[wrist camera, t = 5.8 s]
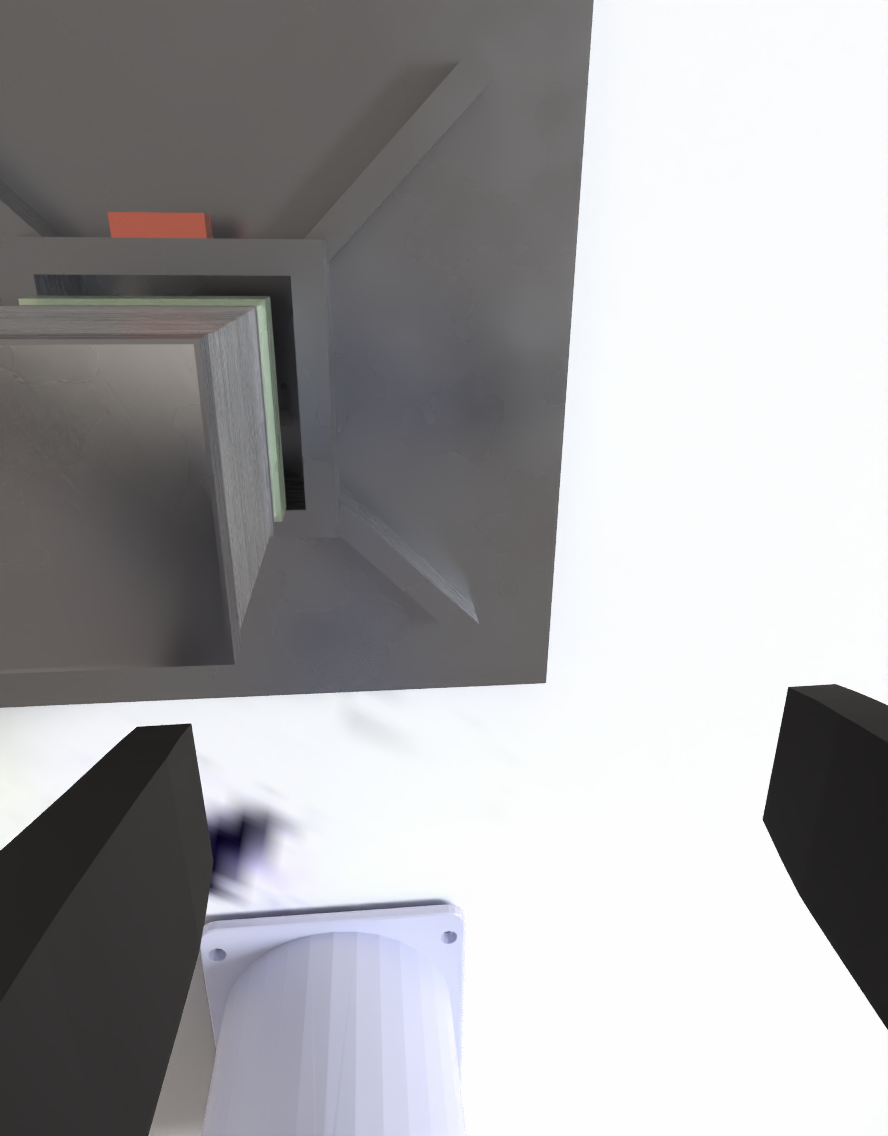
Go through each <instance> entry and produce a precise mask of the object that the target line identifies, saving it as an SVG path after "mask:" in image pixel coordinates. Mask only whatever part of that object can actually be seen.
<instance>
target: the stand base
mask: <svg viewBox="0 0 888 1136" xmlns="http://www.w3.org/2000/svg"><path fill="white" fill-rule="evenodd" d="M592 15H593V0H0V306H1V305H19V300H18V299H19V298H25V297H31V296H38V295H58V296H270V299H271V312H272V325H273V339H274V352H275V365H276V378H277V391H278V405H279V418H280V431H281V444H282V458H283V471H284V484H285V497H286V510H285V514H284V517H283V521H282V522H274V525H275V535H274V537H269V541H268V544H267V547H266V550H265V553H264V556H263V559H262V563H261V566H260V569H259V572H258V575H257V578H256V581H255V585H254V588H253V591H252V594H251V597H250V600H249V603H248V606H247V610H246V613H245V616H244V619H243V622H242V625H241V628H240V638H241V646H240V649H239V653H238V656H237V659H236V662H235V664H231V665H207V666H183V667H158V668H134V669H110V670H85V671H61V672H37V673H12V674H0V708H3V707H25V706H47V705H69V704H92V703H114V702H136V701H158V700H180V699H203V698H225V697H247V696H269V695H292V694H314V693H336V692H358V691H380V690H403V689H425V688H447V687H469V686H492V685H514V684H536V683H546V674H547V659H548V645H549V631H550V616H551V602H552V588H553V573H554V559H555V545H556V530H557V516H558V502H559V487H560V473H561V459H562V444H563V430H564V416H565V401H566V387H567V373H568V359H569V344H570V330H571V316H572V301H573V287H574V273H575V258H576V244H577V230H578V215H579V201H580V187H581V172H582V158H583V144H584V129H585V115H586V101H587V86H588V72H589V58H590V43H591V29H592Z"/></svg>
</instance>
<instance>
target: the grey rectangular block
mask: <svg viewBox="0 0 888 1136" xmlns="http://www.w3.org/2000/svg"><path fill="white" fill-rule="evenodd" d="M18 300H19V305H1V306H0V674H12V673H37V672H61V671H85V670H110V669H134V668H158V667H183V666H207V665H231V664H235V662H236V659H237V656H238V653H239V649H240V646H241V638H240V628H241V625H242V622H243V619H244V616H245V613H246V610H247V606H248V603H249V600H250V597H251V594H252V591H253V588H254V585H255V581H256V578H257V575H258V572H259V569H260V566H261V563H262V559H263V556H264V553H265V550H266V547H267V544H268V541H269V537H274V535H275V525H274V522H282V521H283V517H284V514H285V510H286V497H285V484H284V471H283V458H282V444H281V431H280V418H279V405H278V391H277V378H276V365H275V352H274V339H273V325H272V312H271V299H270V296H58V295H38V296H31V297H25V298H19V299H18Z"/></svg>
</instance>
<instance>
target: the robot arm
mask: <svg viewBox="0 0 888 1136" xmlns="http://www.w3.org/2000/svg"><path fill="white" fill-rule="evenodd" d="M763 821H764V823H765V826H766V828H767V830H768V832H769V834H770V836H771V838H772V841H773V843H774V845H775V847H776V849H777V851H778V853H779V856H780V858H781V860H782V862H783V864H784V866H785V868H786V870H787V872H788V874H789V876H790V878H791V879H792V881H793V883H794V885H795V887H796V889H797V891H798V893H799V895H800V897H801V898H802V900H803V901H804V903H805V905H806V906H807V908H808V909H809V911H810V913H811V914H812V916H813V917H814V919H815V920H816V922H817V923H818V925H819V926H820V928H821V930H822V931H823V933H824V934H825V936H826V937H827V939H828V940H829V942H830V943H831V945H832V946H833V948H834V949H835V951H836V953H837V954H838V956H839V957H840V959H841V960H842V962H843V963H844V965H845V966H846V968H847V969H848V971H849V972H850V974H851V975H852V977H853V978H854V980H855V981H856V983H857V984H858V986H859V987H860V989H861V990H862V992H863V993H864V995H865V996H866V998H867V999H868V1001H869V1002H870V1004H871V1005H872V1007H873V1008H874V1010H875V1011H876V1013H877V1014H878V1016H879V1017H880V1019H881V1020H882V1022H883V1023H884V1025H885V1026H886V1028H887V1029H888V705H886V704H883V703H881V702H879V701H877V700H874V699H872V698H870V697H867V696H865V695H863V694H860V693H858V692H855V691H853V690H850V689H847V688H845V687H842V686H839V685H836V684H832V685H815V686H799V687H788V692H787V697H786V702H785V707H784V712H783V718H782V723H781V728H780V733H779V738H778V743H777V749H776V754H775V759H774V764H773V769H772V774H771V779H770V785H769V790H768V795H767V800H766V805H765V810H764V815H763ZM212 868H213V856H212V850H211V844H210V837H209V831H208V825H207V819H206V813H205V806H204V800H203V794H202V788H201V781H200V775H199V769H198V763H197V757H196V750H195V744H194V738H193V732H192V725H191V724H176V725H160V726H143V727H136V728H135V729H134V730H133V731H132V732H130V733H129V734H128V735H127V736H126V737H125V738H123V739H122V740H121V741H120V742H119V743H118V744H117V745H116V746H115V747H114V748H112V749H111V750H110V751H109V752H108V753H107V754H106V755H105V756H104V757H103V758H102V759H101V760H100V761H98V762H97V763H96V764H95V765H94V766H93V767H92V768H91V769H90V770H89V771H88V772H87V773H86V774H85V775H83V776H82V777H81V778H80V779H79V780H78V781H77V782H76V783H75V784H74V785H73V786H72V787H71V788H69V789H68V790H67V791H66V792H65V793H64V794H63V795H62V796H61V797H60V798H58V799H57V800H56V801H55V802H54V803H53V804H52V805H51V806H50V807H49V808H47V809H46V810H45V811H44V812H43V813H42V814H41V815H40V816H39V817H37V818H36V819H35V820H34V821H33V822H32V823H31V824H30V825H29V826H27V827H26V828H25V829H24V830H23V831H22V832H21V833H20V834H19V835H18V836H16V837H15V838H14V839H13V840H12V841H11V842H10V843H9V844H7V845H6V846H5V847H4V848H3V849H2V850H1V851H0V1136H148V1134H149V1130H150V1127H151V1123H152V1120H153V1116H154V1113H155V1109H156V1105H157V1102H158V1098H159V1095H160V1091H161V1088H162V1084H163V1080H164V1077H165V1073H166V1070H167V1066H168V1063H169V1059H170V1055H171V1052H172V1048H173V1045H174V1041H175V1038H176V1034H177V1031H178V1027H179V1023H180V1020H181V1016H182V1012H183V1009H184V1005H185V1002H186V998H187V994H188V991H189V987H190V983H191V980H192V976H193V972H194V969H195V965H196V961H197V957H198V954H199V950H200V953H201V960H202V966H203V972H204V979H205V985H206V991H207V997H208V1004H209V1010H210V1016H211V1022H212V1029H213V1035H214V1041H215V1047H216V1057H215V1062H214V1068H213V1073H212V1079H211V1084H210V1090H209V1095H208V1101H207V1106H206V1112H205V1117H204V1123H203V1128H202V1134H201V1136H466V1129H465V1120H464V1111H463V1103H462V1094H461V1061H462V1022H463V983H464V944H465V919H464V914H463V910H462V909H461V908H460V907H458V906H456V905H450V904H445V905H431V906H417V907H403V908H389V909H375V910H361V911H347V912H333V913H319V914H305V915H291V916H277V917H263V918H249V919H235V920H221V921H213V922H209V923H208V924H206V925H204V921H205V915H206V909H207V902H208V895H209V888H210V882H211V875H212ZM448 931H452V932H450V933H444V932H448ZM216 949H222V950H216Z"/></svg>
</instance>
